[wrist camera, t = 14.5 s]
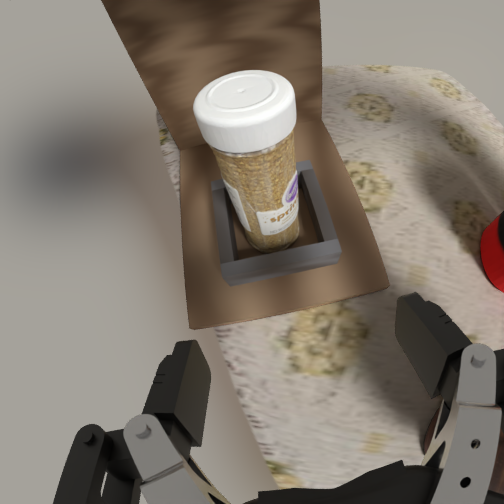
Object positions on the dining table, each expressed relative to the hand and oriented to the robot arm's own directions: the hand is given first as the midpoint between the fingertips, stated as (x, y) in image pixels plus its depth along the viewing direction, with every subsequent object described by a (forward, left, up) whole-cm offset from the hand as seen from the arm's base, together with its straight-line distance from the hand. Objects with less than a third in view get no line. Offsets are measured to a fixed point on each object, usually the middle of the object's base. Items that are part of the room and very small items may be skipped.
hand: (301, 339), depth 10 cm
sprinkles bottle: (0, -10, -10) cm, 14 cm away
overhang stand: (0, -13, -10) cm, 17 cm away
